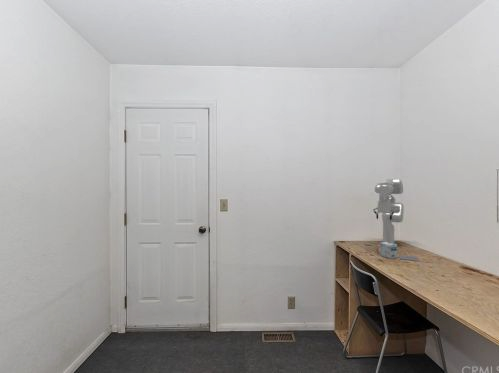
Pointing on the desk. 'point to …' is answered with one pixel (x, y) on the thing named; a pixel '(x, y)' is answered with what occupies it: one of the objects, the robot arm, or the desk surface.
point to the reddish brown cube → (378, 248)
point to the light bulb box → (388, 250)
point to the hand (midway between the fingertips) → (383, 219)
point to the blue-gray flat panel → (408, 258)
